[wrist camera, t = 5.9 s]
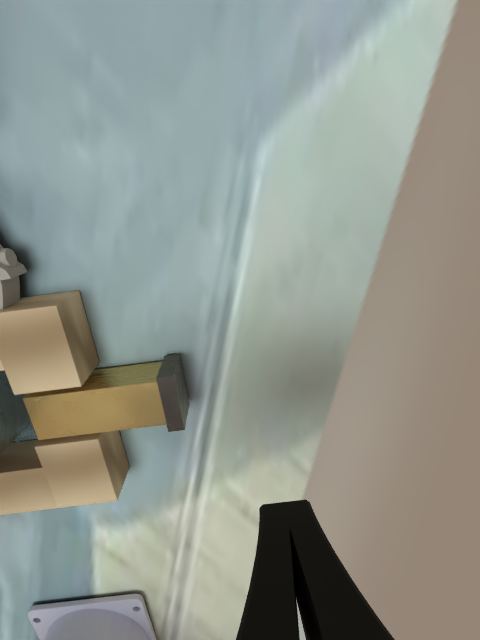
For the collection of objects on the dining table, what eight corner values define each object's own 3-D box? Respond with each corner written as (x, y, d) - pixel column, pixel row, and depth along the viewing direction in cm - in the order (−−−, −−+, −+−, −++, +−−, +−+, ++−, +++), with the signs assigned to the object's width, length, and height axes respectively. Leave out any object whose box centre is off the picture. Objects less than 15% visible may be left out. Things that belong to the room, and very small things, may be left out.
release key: (189, 402, 20) (184, 429, 18) (59, 418, 20) (38, 447, 18) (179, 353, 19) (173, 375, 17) (43, 371, 19) (18, 395, 17)
